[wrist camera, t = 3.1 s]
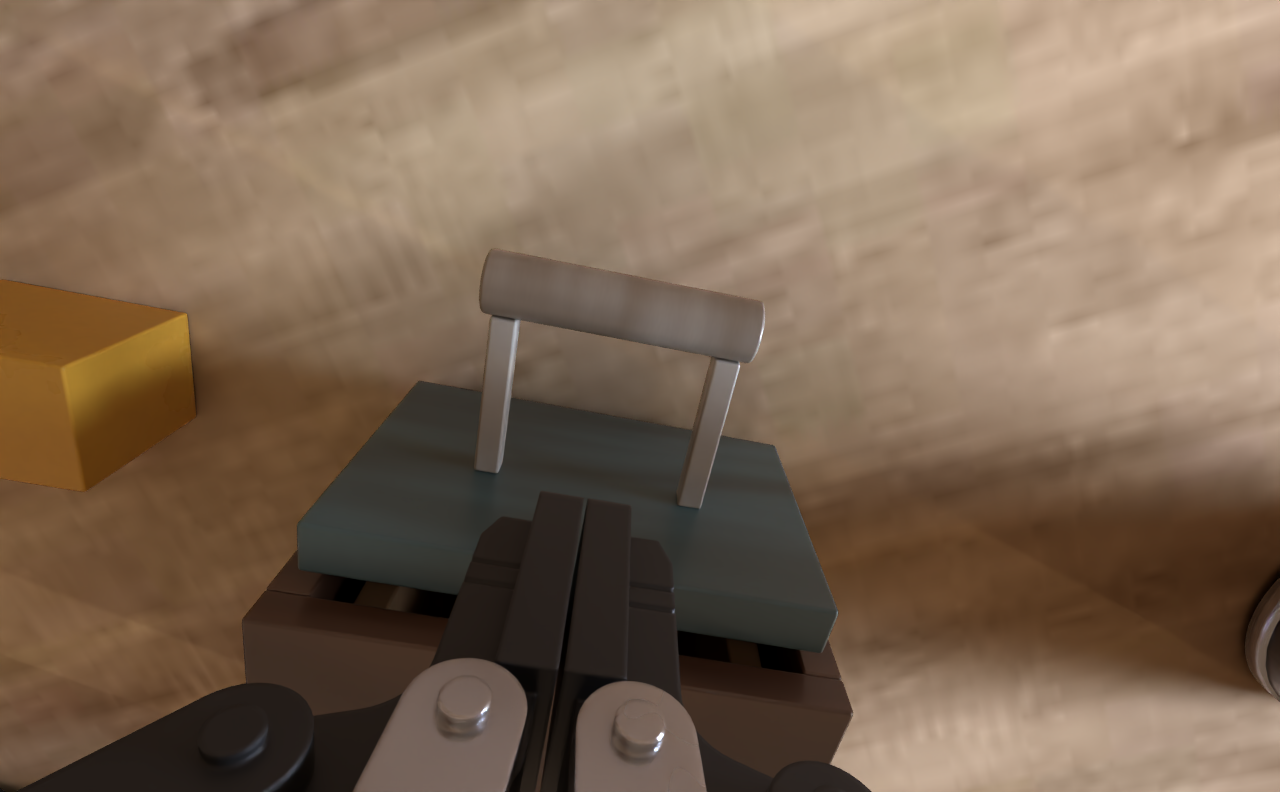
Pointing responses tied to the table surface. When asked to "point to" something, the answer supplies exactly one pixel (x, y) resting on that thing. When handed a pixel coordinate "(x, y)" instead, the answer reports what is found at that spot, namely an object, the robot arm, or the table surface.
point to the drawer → (583, 470)
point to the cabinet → (407, 642)
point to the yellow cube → (86, 384)
